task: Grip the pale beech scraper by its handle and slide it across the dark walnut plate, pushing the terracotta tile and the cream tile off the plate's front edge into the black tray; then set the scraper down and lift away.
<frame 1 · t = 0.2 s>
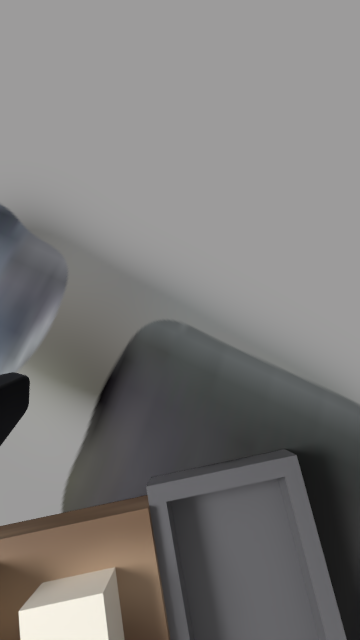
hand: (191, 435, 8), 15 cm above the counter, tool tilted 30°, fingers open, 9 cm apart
tray: (248, 604, 20), on the counter
tile cream: (83, 618, 17), point 3 cm above the counter, touching plate
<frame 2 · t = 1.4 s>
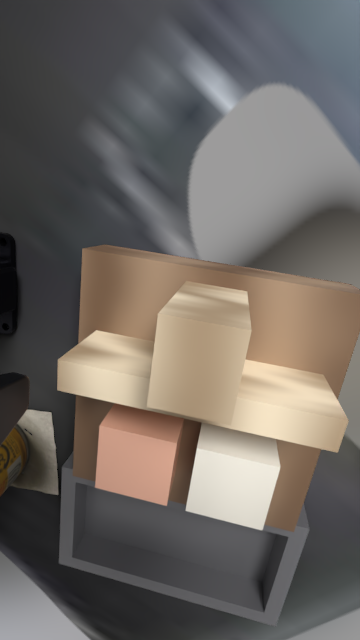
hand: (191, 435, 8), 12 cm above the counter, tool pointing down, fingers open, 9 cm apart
tray: (177, 516, 24), on the counter
scraper: (202, 364, 17), point 3 cm above the counter, touching plate
tile cream: (231, 456, 19), point 3 cm above the counter, touching plate
condiment: (8, 443, 26), on the counter
plate: (202, 376, 21), on the counter
tile terracotta: (146, 436, 19), point 3 cm above the counter, touching plate
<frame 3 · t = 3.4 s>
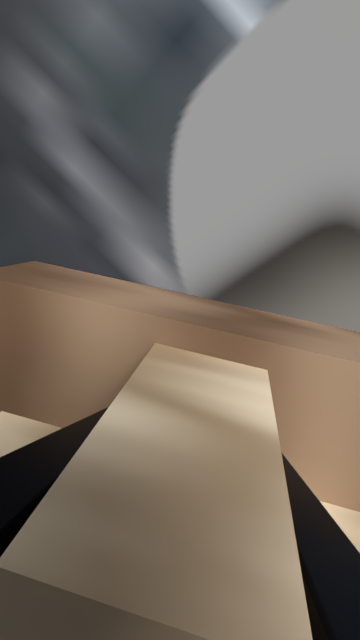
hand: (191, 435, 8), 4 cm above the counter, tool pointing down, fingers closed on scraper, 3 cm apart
scraper: (181, 482, 10), point 3 cm above the counter, touching gripper, plate
plate: (184, 470, 13), on the counter
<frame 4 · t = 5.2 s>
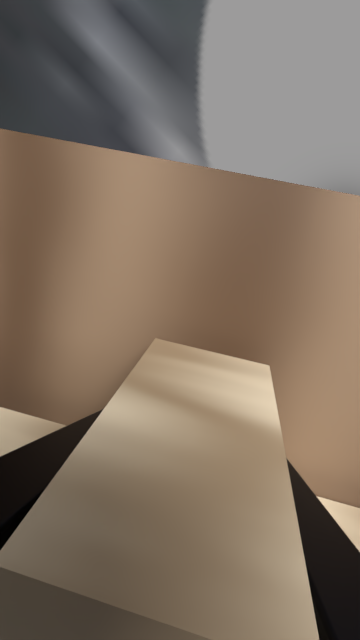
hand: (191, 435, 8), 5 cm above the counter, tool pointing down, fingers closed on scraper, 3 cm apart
scraper: (181, 479, 10), point 4 cm above the counter, touching gripper, tile cream, tile terracotta
plate: (204, 382, 13), on the counter
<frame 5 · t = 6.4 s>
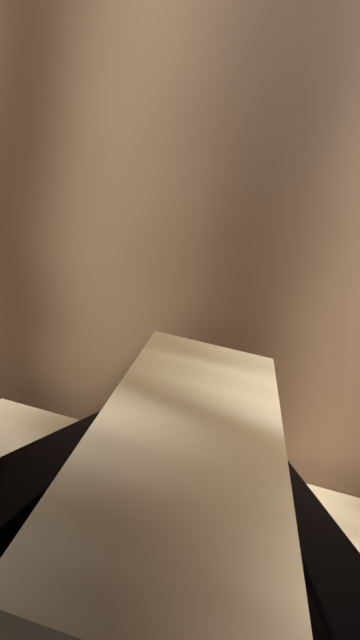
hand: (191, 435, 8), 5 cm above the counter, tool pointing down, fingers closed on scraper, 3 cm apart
scraper: (184, 469, 10), point 4 cm above the counter, touching gripper
plate: (241, 225, 11), on the counter
when the fingers open (4 cm above the counter, at t = 8.7 s): scraper stays where it is, resting on plate.
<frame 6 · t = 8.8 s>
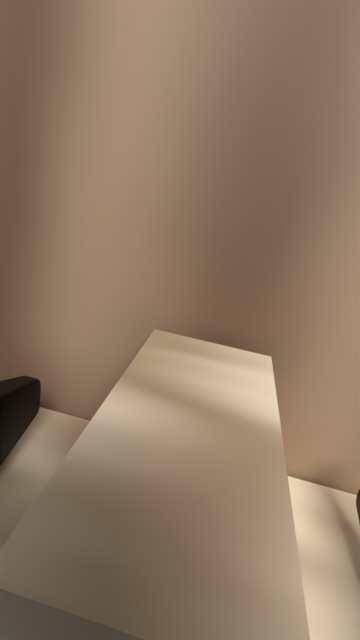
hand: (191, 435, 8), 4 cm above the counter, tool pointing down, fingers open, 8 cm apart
scraper: (183, 467, 10), point 3 cm above the counter, touching gripper, plate
plate: (224, 295, 11), on the counter
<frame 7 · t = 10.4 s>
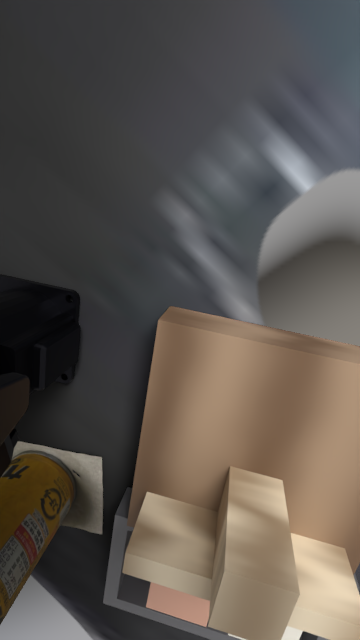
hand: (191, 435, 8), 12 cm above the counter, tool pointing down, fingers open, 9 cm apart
tray: (220, 561, 25), on the counter
scraper: (239, 528, 20), point 3 cm above the counter, touching plate
condiment: (54, 482, 26), on the counter
plate: (256, 433, 21), on the counter
tile terracotta: (187, 559, 22), point 2 cm above the counter, tilted 90°, touching tray
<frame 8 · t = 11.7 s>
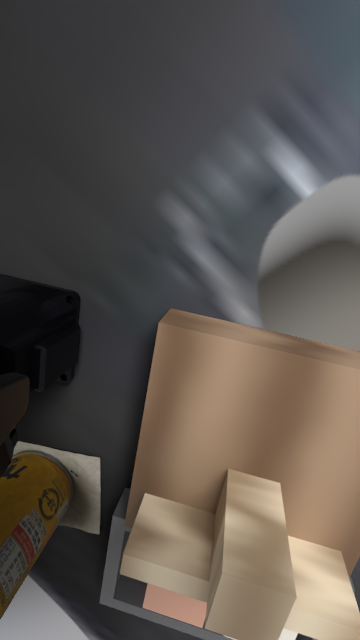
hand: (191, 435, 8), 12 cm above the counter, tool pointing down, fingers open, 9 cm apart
tray: (216, 562, 25), on the counter
scraper: (236, 530, 20), point 3 cm above the counter, touching plate
condiment: (52, 482, 26), on the counter
plate: (255, 436, 21), on the counter
tile terracotta: (184, 560, 22), point 2 cm above the counter, tilted 90°, touching tray
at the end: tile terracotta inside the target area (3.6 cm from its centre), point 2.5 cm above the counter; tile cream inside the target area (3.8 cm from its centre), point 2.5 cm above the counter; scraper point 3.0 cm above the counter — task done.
